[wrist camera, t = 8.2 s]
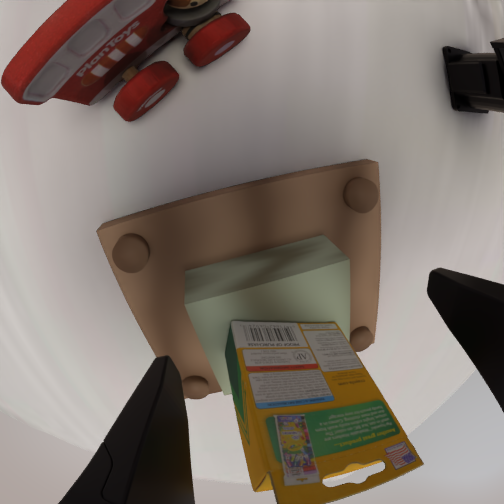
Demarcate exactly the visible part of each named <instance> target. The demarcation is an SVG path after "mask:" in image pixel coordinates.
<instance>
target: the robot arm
mask: <svg viewBox="0 0 504 504" xmlns="http://www.w3.org/2000/svg"><path fill="white" fill-rule="evenodd" d="M490 43H491V45H492V48H494V51H495V53H470V52H467V51H464V50H460V49H457V48H453V47H450V46H445V47H444V48H443V51H444V56H445V60H446V66H447V71H448V77H449V83H450V90H451V98H452V106H453V109H454V110H455V111H465V112H477V113H488V112H489V110H490V111H496V112H502V113H504V38H502V39H499V40H495V41H491V42H490ZM427 294H428V296H429V298H430V300H431V301H432V303H433V304H434V306H435V307H436V309H437V311H438V312H439V314H440V315H441V317H442V319H443V320H444V322H445V324H446V325H447V327H448V328H449V330H450V331H451V332H452V334H453V335H454V337H455V338H456V339H457V341H458V342H459V343H460V345H461V346H462V348H463V349H464V350H465V352H466V353H467V355H468V356H469V358H470V359H471V361H472V362H473V364H474V365H475V367H476V368H477V370H478V371H479V373H480V374H481V376H482V377H483V379H484V380H485V382H486V384H487V385H488V386H489V388H490V390H491V392H492V393H493V395H494V396H495V398H496V400H497V401H498V403H499V405H500V407H501V408H502V410H503V412H504V285H503V284H500V283H496V282H492V281H489V280H485V279H481V278H478V277H474V276H470V275H467V274H463V273H459V272H455V271H451V270H447V269H444V268H437V269H434V270H432V271H431V272H430V274H429V280H428V287H427ZM58 504H195V500H194V491H193V481H192V470H191V458H190V444H189V428H188V418H187V411H186V406H185V400H184V393H183V387H182V380H181V376H180V373H179V371H178V369H177V367H176V366H175V364H174V362H173V361H172V359H171V357H170V356H168V355H165V356H160V357H157V358H155V360H154V361H153V363H152V364H151V366H150V367H149V369H148V370H147V372H146V374H145V375H144V377H143V378H142V380H141V381H140V383H139V384H138V386H137V388H136V389H135V391H134V392H133V394H132V395H131V397H130V399H129V400H128V402H127V403H126V405H125V407H124V408H123V410H122V411H121V413H120V415H119V416H118V418H117V419H116V421H115V423H114V424H113V426H112V427H111V429H110V431H109V432H108V434H107V435H106V437H105V439H104V442H102V443H101V445H100V447H99V448H98V450H97V452H96V453H95V455H94V456H93V458H92V459H91V461H90V463H89V464H88V466H87V467H86V468H85V470H84V471H83V472H82V474H81V475H80V476H79V478H78V479H77V480H76V482H75V483H74V484H73V486H72V487H71V488H70V489H69V491H68V492H67V493H66V495H65V496H64V497H63V499H62V500H61V501H60V502H59V503H58Z"/></svg>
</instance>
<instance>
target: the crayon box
mask: <svg viewBox="0 0 504 504" xmlns="http://www.w3.org/2000/svg"><path fill="white" fill-rule="evenodd" d="M225 359H226V364H227V370H228V375H229V381H230V386H231V391H232V395H233V401H234V405H235V411H236V416H237V422H238V426H239V431H240V435H241V440H242V445H243V449H244V453H245V458H246V463H247V467H248V471H249V476H250V480H251V484H252V487H253V490H254V491H255V492H261V491H268V490H274V494H275V498H276V502H277V504H326V503H330V502H334V501H337V500H340V499H343V498H346V497H349V496H352V495H355V494H358V493H361V492H363V491H366V490H369V489H371V488H374V487H376V486H379V485H381V484H384V483H386V482H389V481H391V480H393V479H396V478H398V477H400V476H402V475H404V474H406V473H408V472H410V471H412V470H414V469H416V468H418V467H420V466H422V465H423V464H424V463H423V462H422V460H421V459H420V457H419V455H418V454H417V452H416V450H415V448H414V446H413V445H412V444H411V442H410V441H409V439H408V438H407V435H406V433H405V432H404V430H403V428H402V427H401V425H400V423H399V422H398V420H397V418H396V417H395V415H394V413H393V412H392V410H391V408H390V407H389V405H388V403H387V402H386V400H385V399H384V397H383V395H382V394H381V392H380V390H379V389H378V387H377V386H376V384H375V382H374V381H373V379H372V378H371V376H370V374H369V373H368V371H367V370H366V368H365V366H364V365H363V363H362V362H361V360H360V358H359V357H358V355H357V354H356V352H355V350H354V349H353V347H352V346H351V344H350V343H349V341H348V340H347V338H346V337H345V335H344V333H343V332H342V330H341V329H340V327H339V326H338V324H337V323H336V322H328V323H282V322H243V321H232V322H231V324H230V328H229V333H228V339H227V343H226V349H225ZM382 461H383V462H384V463H385V469H384V470H383V471H381V472H379V473H376V474H373V475H371V476H368V478H367V479H366V481H364V482H362V483H360V484H355V483H345V484H342V485H339V486H335V487H326V486H325V485H324V484H323V483H322V481H323V479H326V478H330V477H334V476H338V475H341V474H345V473H348V472H352V471H355V470H358V469H361V468H364V467H368V466H371V465H373V464H377V463H380V462H382Z"/></svg>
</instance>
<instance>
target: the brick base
mask: <svg viewBox="0 0 504 504" xmlns="http://www.w3.org/2000/svg"><path fill="white" fill-rule="evenodd" d="M96 232H97V234H98V237H99V239H100V242H101V244H102V247H103V249H104V252H105V254H106V257H107V259H108V261H109V264H110V266H111V268H112V271H113V273H114V275H115V277H116V279H117V282H118V284H119V286H120V288H121V290H122V292H123V294H124V297H125V299H126V301H127V303H128V305H129V307H130V309H131V311H132V313H133V315H134V317H135V319H136V321H137V322H138V324H139V326H140V328H141V330H142V332H143V334H144V336H145V337H146V339H147V341H148V343H149V345H150V346H151V348H152V350H153V352H154V353H155V355H156V357H160V356H165V355H168V356H170V357H171V359H172V361H173V362H174V364H175V366H176V367H177V369H178V371H179V373H180V376H181V380H182V387H183V393H184V399H186V398H190V399H202V398H204V397H206V396H207V395H208V394H211V393H216V392H221V391H223V393H224V395H229V394H232V391H231V386H230V381H229V375H228V370H227V364H226V359H225V349H226V343H227V339H228V333H229V328H230V324H231V322H232V321H243V322H282V323H328V322H336V323H337V324H338V326H339V327H340V329H341V330H342V332H343V333H344V335H345V337H346V338H347V340H348V341H349V343H350V344H351V346H352V347H353V349H354V350H355V352H360V351H363V350H365V349H366V348H368V347H369V346H370V345H371V344H373V343H374V340H375V331H376V322H377V311H378V299H379V283H380V260H381V205H380V182H379V167H378V162H375V161H372V160H368V159H366V160H359V161H353V162H347V163H341V164H336V165H330V166H324V167H319V168H314V169H309V170H304V171H298V172H294V173H289V174H284V175H279V176H275V177H270V178H265V179H261V180H257V181H252V182H248V183H244V184H239V185H235V186H231V187H227V188H223V189H219V190H215V191H211V192H207V193H204V194H200V195H196V196H192V197H189V198H185V199H181V200H178V201H174V202H171V203H167V204H164V205H160V206H157V207H154V208H150V209H147V210H144V211H140V212H137V213H134V214H131V215H128V216H124V217H121V218H118V219H115V220H112V221H109V222H106V223H103V224H102V225H101V226H100V227H99V229H98V230H97V231H96Z"/></svg>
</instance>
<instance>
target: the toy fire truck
mask: <svg viewBox="0 0 504 504" xmlns="http://www.w3.org/2000/svg"><path fill="white" fill-rule="evenodd" d="M228 1H230V0H67V1H66V2H65V3H64V4H63V5H62V6H61V7H60V8H59V9H57V10H56V11H55V12H54V13H53V14H52V15H51V16H50V17H49V18H48V19H47V20H46V21H45V22H44V23H43V24H42V25H41V26H40V27H39V28H38V30H37V31H36V32H35V33H34V34H33V35H32V36H31V37H30V38H29V39H28V41H27V42H26V43H25V44H24V45H23V46H22V48H21V49H20V50H19V51H18V52H17V54H16V55H15V56H14V57H13V59H12V60H11V61H10V63H9V64H8V65H7V67H6V69H5V70H4V72H3V75H2V79H1V84H2V86H3V88H4V89H5V90H6V91H7V92H8V93H9V94H10V95H11V97H12V98H13V99H14V100H15V101H16V102H18V103H20V104H30V105H40V104H43V103H44V102H46V101H48V100H49V99H51V98H57V99H62V100H67V101H72V102H77V103H81V104H84V105H89V106H90V105H93V104H95V103H97V102H98V101H99V100H101V99H102V98H103V97H104V96H105V95H106V94H107V93H108V92H109V91H110V90H111V89H112V88H113V87H114V86H115V85H116V84H118V83H119V82H121V81H123V80H125V81H126V82H127V83H126V84H125V85H124V87H123V88H122V89H121V90H120V91H119V93H118V94H117V96H116V98H115V101H114V105H113V107H114V110H115V111H117V113H118V114H119V115H120V116H121V117H122V118H123V119H124V120H125V121H128V122H131V121H134V120H136V119H137V118H139V117H140V116H142V115H143V114H145V113H146V112H147V111H148V110H150V109H151V108H152V107H153V106H155V105H156V104H157V103H158V102H159V101H160V100H161V99H162V98H163V97H164V96H165V95H166V94H167V93H168V92H169V91H170V90H171V89H172V88H173V87H174V86H175V84H176V83H177V82H178V79H179V74H178V73H177V71H176V70H175V69H174V68H173V67H172V66H171V65H170V64H169V63H168V62H166V61H157V62H154V63H152V64H151V65H149V66H147V67H146V68H144V69H142V70H141V71H138V70H137V67H138V66H139V64H140V63H141V62H142V61H143V60H144V59H145V58H147V57H148V56H149V55H150V54H152V53H153V52H154V51H155V50H157V49H158V48H159V47H160V46H162V45H163V44H164V43H166V42H167V41H168V40H170V39H171V38H172V37H174V36H175V35H176V34H177V33H179V32H180V31H182V34H183V35H184V36H185V37H186V38H187V39H188V40H189V41H188V42H187V43H186V45H185V47H184V49H183V51H184V55H185V56H186V57H187V58H188V59H189V60H190V61H191V62H192V63H193V64H194V65H195V66H198V67H201V66H204V65H207V64H209V63H211V62H212V61H214V60H216V59H218V58H219V57H221V56H222V55H223V54H225V53H226V52H228V51H229V50H230V49H232V48H233V47H234V46H236V45H237V44H238V43H239V42H241V41H242V40H243V39H244V38H245V37H246V36H247V35H248V33H249V32H250V26H249V24H248V23H247V22H246V21H245V20H244V19H243V18H242V17H241V16H240V15H239V14H236V13H228V14H225V15H223V16H221V13H219V12H218V11H217V10H218V8H219V7H220V6H221V5H223V4H225V3H226V2H228Z"/></svg>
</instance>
